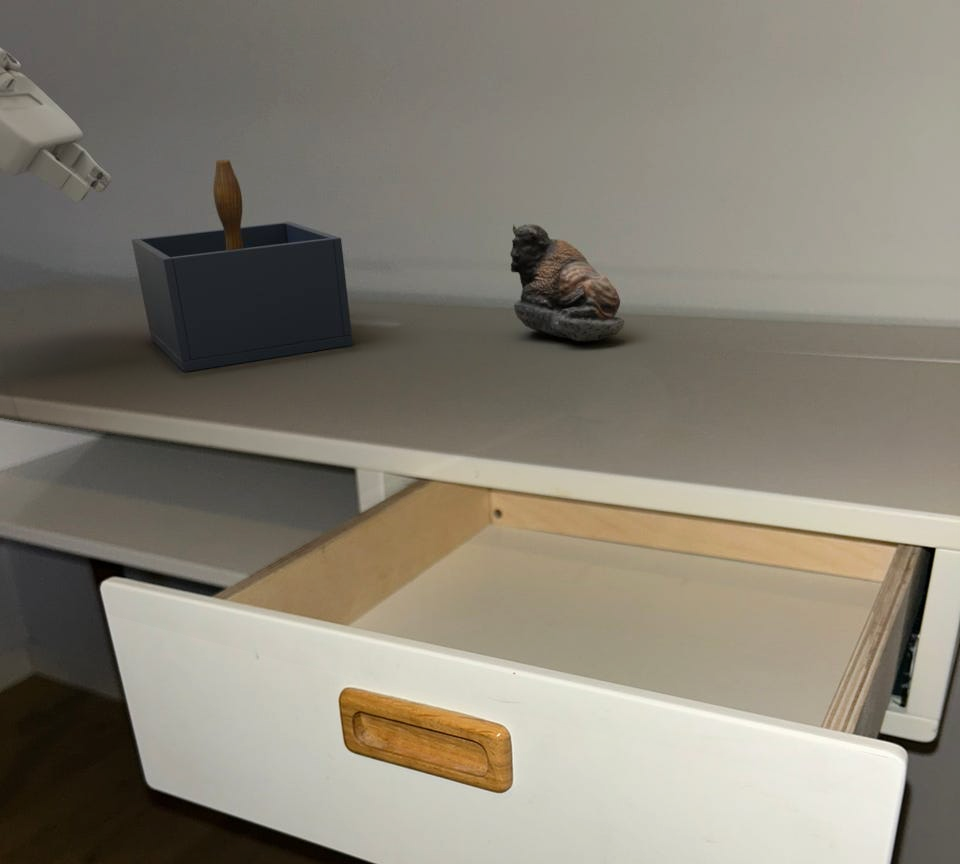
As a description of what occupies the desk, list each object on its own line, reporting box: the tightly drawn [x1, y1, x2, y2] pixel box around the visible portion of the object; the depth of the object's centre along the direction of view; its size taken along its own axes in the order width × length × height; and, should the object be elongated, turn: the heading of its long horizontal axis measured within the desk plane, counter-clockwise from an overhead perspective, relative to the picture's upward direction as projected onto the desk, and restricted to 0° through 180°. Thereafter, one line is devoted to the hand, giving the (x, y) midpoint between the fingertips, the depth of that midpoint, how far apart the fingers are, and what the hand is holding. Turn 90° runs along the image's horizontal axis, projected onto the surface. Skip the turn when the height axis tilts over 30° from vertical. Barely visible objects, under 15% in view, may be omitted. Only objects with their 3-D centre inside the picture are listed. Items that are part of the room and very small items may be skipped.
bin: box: [131, 221, 354, 373], centre depth 106 cm, size 17×17×10 cm
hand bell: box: [213, 159, 243, 250], centre depth 104 cm, size 8×8×16 cm
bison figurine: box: [509, 223, 625, 343], centre depth 100 cm, size 12×7×10 cm, turn 47°
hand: (96, 190), depth 100 cm, fingers open, 8 cm apart
